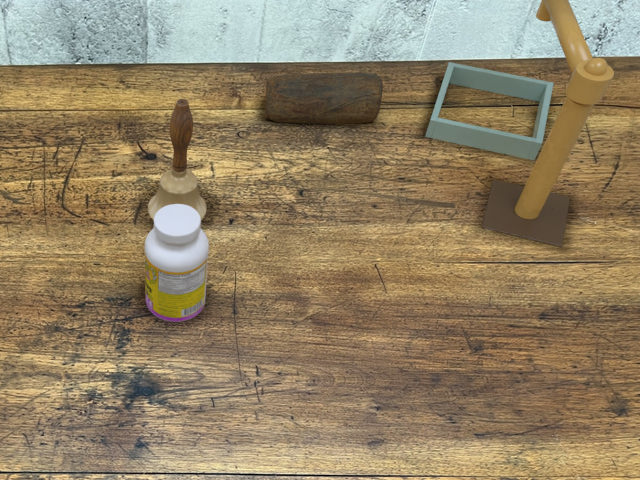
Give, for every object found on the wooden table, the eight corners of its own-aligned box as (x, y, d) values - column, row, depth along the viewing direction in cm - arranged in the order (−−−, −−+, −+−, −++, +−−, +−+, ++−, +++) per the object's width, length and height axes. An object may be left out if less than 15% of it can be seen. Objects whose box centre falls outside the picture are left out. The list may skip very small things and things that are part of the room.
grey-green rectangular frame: (543, 105, 111) (553, 82, 108) (531, 166, 104) (542, 143, 101) (441, 85, 114) (449, 61, 111) (422, 142, 107) (430, 119, 104)
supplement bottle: (151, 279, 94) (151, 192, 83) (208, 287, 93) (215, 200, 82) (140, 323, 90) (138, 237, 80) (199, 331, 89) (205, 246, 79)
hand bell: (218, 198, 102) (227, 84, 89) (201, 243, 97) (208, 130, 84) (154, 186, 103) (154, 73, 90) (134, 230, 99) (131, 117, 86)
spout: (600, 115, 84) (624, 70, 80) (564, 114, 84) (586, 69, 80) (558, 12, 96) (577, -33, 91) (526, 11, 96) (543, -33, 92)
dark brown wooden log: (368, 102, 112) (379, 57, 107) (377, 134, 108) (389, 89, 103) (259, 104, 113) (264, 60, 107) (264, 136, 109) (270, 92, 103)
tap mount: (566, 204, 99) (631, 81, 86) (558, 253, 95) (626, 132, 81) (489, 186, 102) (541, 64, 88) (478, 234, 97) (531, 112, 83)
